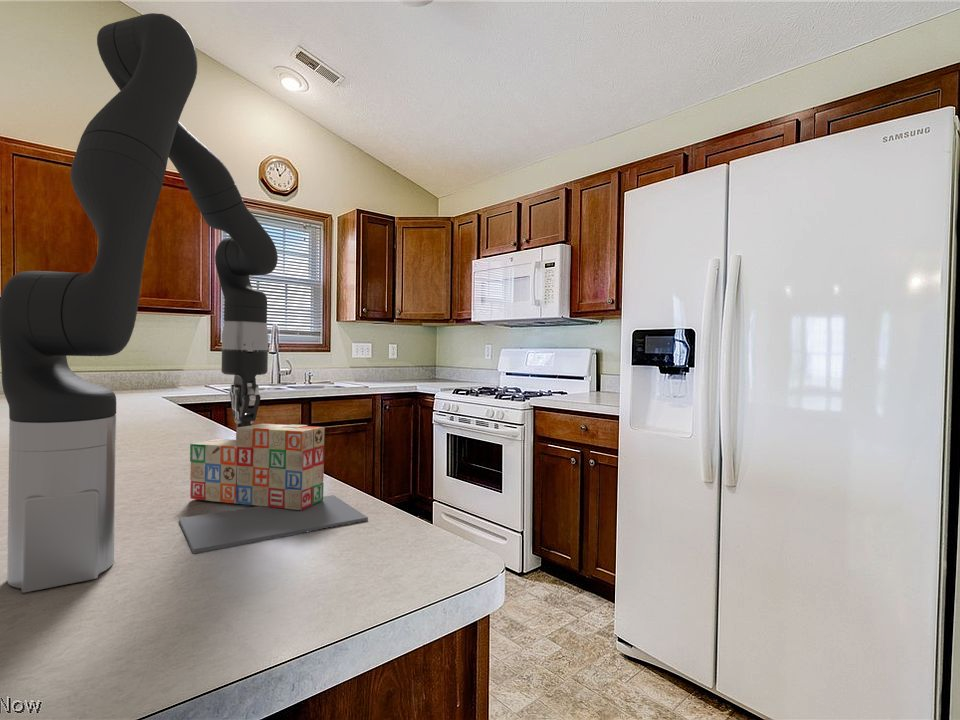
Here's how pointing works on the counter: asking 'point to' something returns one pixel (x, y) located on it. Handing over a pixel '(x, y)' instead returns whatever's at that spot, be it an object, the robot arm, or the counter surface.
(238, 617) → the counter surface
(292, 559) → the counter surface
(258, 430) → the stack of blocks
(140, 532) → the counter surface
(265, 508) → the mat
